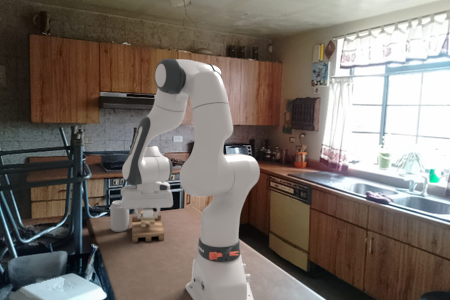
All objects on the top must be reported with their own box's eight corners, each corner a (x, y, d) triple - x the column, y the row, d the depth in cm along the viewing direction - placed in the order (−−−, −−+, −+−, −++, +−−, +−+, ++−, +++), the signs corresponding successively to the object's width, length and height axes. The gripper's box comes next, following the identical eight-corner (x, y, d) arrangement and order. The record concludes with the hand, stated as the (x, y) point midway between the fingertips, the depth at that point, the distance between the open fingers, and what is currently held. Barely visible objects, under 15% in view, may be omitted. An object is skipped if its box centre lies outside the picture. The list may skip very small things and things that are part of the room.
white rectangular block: (152, 217, 132) (152, 210, 132) (143, 218, 131) (143, 210, 131) (151, 212, 139) (151, 205, 138) (142, 212, 138) (142, 205, 137)
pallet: (154, 226, 131) (154, 218, 131) (141, 226, 130) (141, 219, 129) (152, 217, 141) (152, 211, 140) (140, 218, 139) (140, 211, 139)
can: (123, 233, 135) (123, 205, 133) (106, 231, 136) (106, 203, 135) (132, 227, 142) (132, 200, 141) (116, 225, 144) (116, 198, 142)
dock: (164, 240, 130) (164, 227, 129) (132, 242, 126) (132, 229, 126) (160, 226, 145) (160, 215, 144) (132, 227, 142) (132, 216, 141)
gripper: (120, 187, 127) (120, 222, 129) (173, 186, 133) (173, 219, 135) (121, 184, 133) (121, 217, 135) (171, 182, 139) (171, 214, 141)
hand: (147, 218), depth 135 cm, fingers closed on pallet, 5 cm apart
